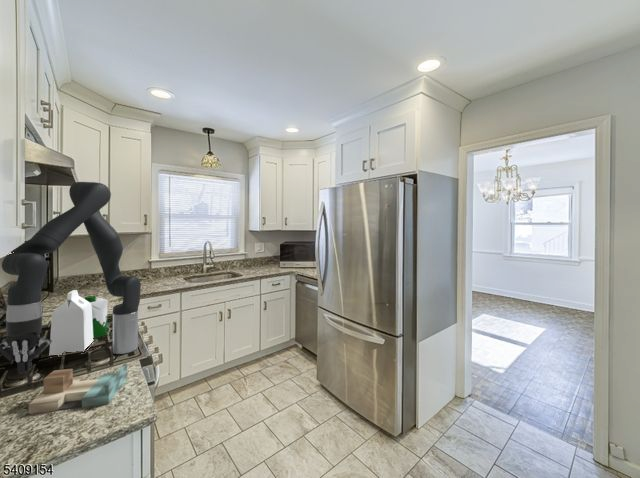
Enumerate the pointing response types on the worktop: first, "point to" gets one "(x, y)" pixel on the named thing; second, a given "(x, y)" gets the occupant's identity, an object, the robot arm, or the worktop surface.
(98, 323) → the milk carton
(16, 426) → the worktop surface
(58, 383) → the block
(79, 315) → the milk
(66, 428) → the worktop surface
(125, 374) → the pixelated toy pickaxe
